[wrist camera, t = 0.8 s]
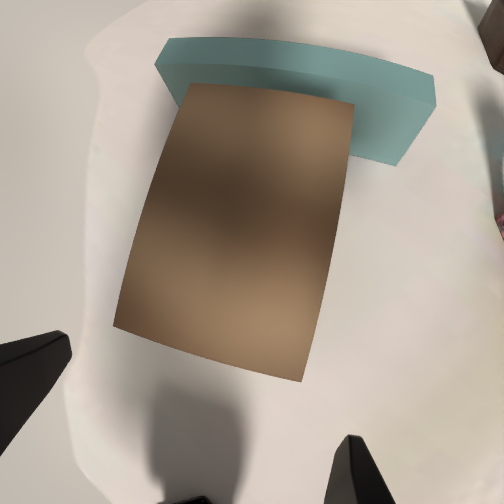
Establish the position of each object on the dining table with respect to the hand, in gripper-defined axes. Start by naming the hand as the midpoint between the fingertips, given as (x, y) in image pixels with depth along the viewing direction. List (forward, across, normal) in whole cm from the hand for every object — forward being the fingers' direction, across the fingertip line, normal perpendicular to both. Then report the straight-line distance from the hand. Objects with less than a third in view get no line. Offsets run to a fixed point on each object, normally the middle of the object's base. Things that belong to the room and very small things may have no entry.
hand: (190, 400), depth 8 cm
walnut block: (+18, +1, +3) cm, 19 cm away
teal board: (+24, +2, -8) cm, 26 cm away
